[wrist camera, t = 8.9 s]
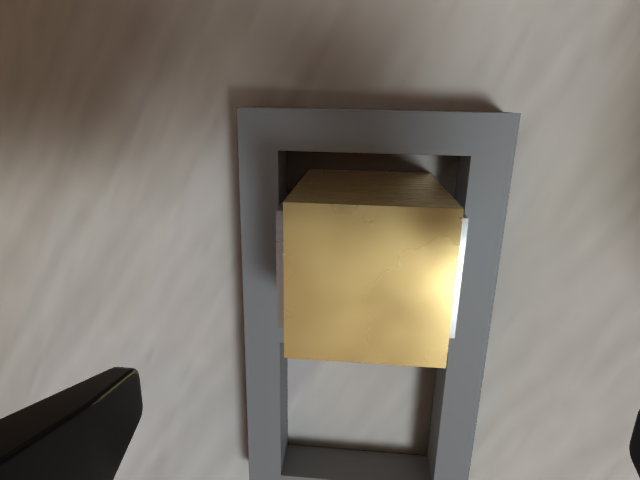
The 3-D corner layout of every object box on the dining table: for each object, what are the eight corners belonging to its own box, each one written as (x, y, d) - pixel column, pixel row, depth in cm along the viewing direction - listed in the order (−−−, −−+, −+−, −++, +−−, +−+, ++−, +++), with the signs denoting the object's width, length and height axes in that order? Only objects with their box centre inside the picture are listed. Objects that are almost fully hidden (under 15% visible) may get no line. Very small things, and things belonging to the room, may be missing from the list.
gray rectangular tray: (259, 465, 24) (250, 497, 22) (249, 106, 18) (236, 107, 17) (454, 482, 23) (462, 517, 21) (503, 111, 18) (520, 113, 16)
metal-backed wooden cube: (299, 279, 21) (271, 356, 14) (299, 168, 19) (269, 201, 13) (429, 286, 20) (458, 369, 14) (440, 173, 19) (478, 209, 12)
